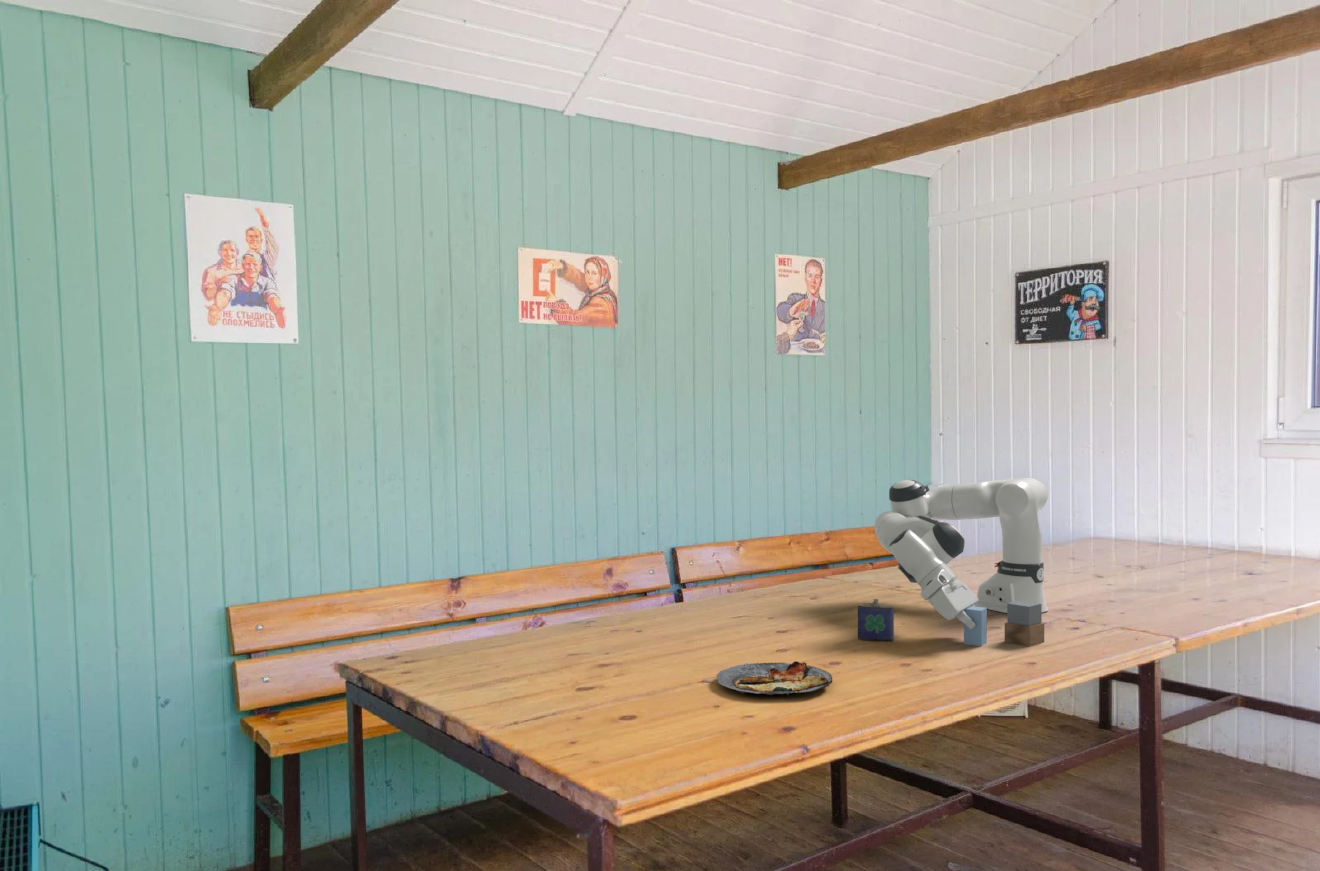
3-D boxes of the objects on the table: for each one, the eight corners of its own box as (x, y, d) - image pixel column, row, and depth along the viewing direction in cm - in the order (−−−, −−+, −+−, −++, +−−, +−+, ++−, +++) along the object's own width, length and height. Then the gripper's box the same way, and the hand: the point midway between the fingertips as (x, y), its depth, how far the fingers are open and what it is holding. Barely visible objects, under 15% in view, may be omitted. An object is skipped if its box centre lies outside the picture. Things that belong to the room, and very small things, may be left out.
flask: (894, 639, 252) (893, 598, 252) (893, 642, 249) (893, 600, 249) (857, 637, 255) (857, 597, 254) (857, 640, 252) (856, 599, 252)
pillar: (963, 644, 247) (963, 608, 247) (968, 640, 251) (968, 605, 250) (981, 646, 244) (981, 610, 244) (986, 642, 248) (986, 607, 248)
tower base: (1004, 641, 249) (1004, 622, 249) (1019, 637, 254) (1019, 618, 254) (1030, 646, 244) (1029, 627, 244) (1044, 642, 248) (1044, 623, 248)
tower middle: (1007, 622, 249) (1007, 603, 249) (1019, 619, 253) (1019, 600, 253) (1029, 626, 244) (1029, 606, 244) (1041, 623, 248) (1041, 603, 248)
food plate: (821, 669, 223) (820, 654, 223) (843, 700, 200) (843, 683, 200) (712, 674, 222) (712, 658, 222) (722, 705, 199) (722, 688, 199)
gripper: (943, 584, 262) (980, 624, 257) (918, 596, 245) (957, 639, 240) (960, 569, 260) (997, 609, 254) (935, 580, 243) (975, 624, 237)
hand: (977, 624), depth 247 cm, fingers open, 5 cm apart
